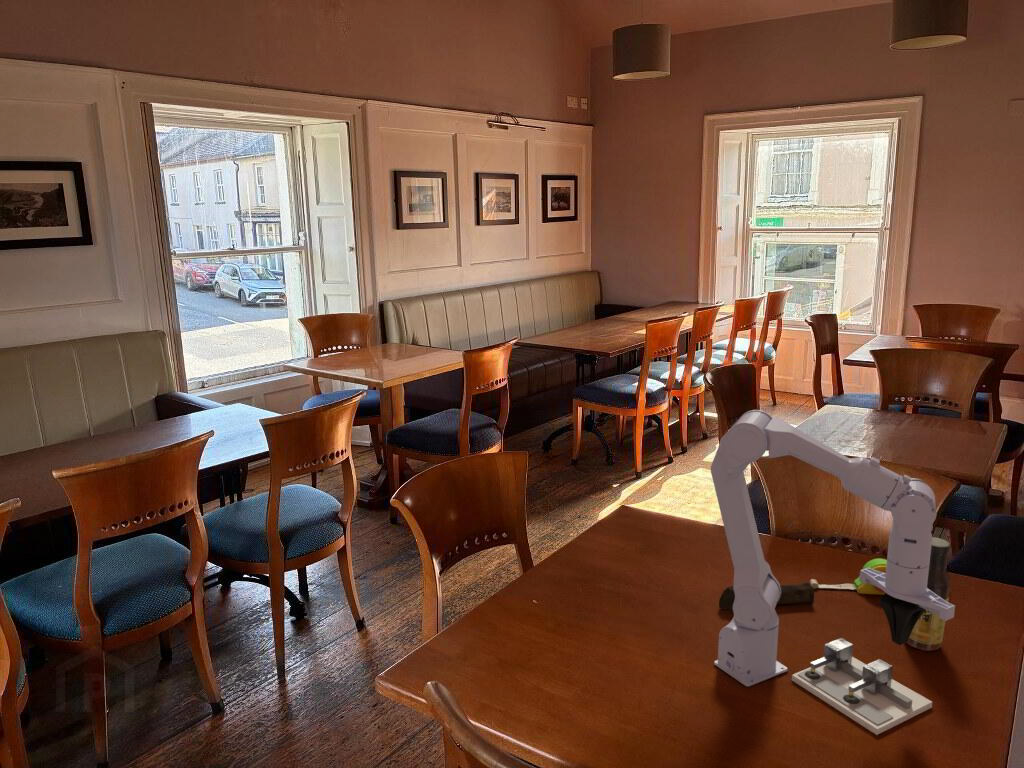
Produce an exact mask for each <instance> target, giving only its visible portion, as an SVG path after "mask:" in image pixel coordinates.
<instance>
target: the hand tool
mask: <svg viewBox="0 0 1024 768" xmlns="http://www.w3.org/2000/svg"><path fill="white" fill-rule="evenodd" d="M780 587H781V596H780V598H779V600H778V602H777V604H776V605H787V604H801V603H808V604H809V605H813V604H814V603H815V589H814V588H813V587H812V586H811V584H810V582H805V581H804V582H802V583H800V584H786V585H785V584H784V585H783V584H780ZM734 600H735V593H734V588H733V585H731V586H727V587H726V588H725V589H723V591H722V593H721V595H720V597H719V600H718V607H719V608H720V609H723V610H730V611H731V610H732V611H733V603H734Z"/></svg>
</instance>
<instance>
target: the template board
mask: <svg viewBox="0 0 1024 768" xmlns="http://www.w3.org/2000/svg"><path fill="white" fill-rule="evenodd" d="M864 665H867V664H866V663H864V662H863V661H861V660H859V659H857V658H856V657H854V656H852V664H849V663H847V662H845V661H842V662H840V667H839V670H837V671H834V670H832V669H830V668H829V667H827V666H825V665H823V666H821V667H818V668H816V669H815V674H811V673H810V671H811V667H810V666H809V667H808V668H805V669H803V670H800V671H798V672H795V673H794V674H792V675H791V681H792V682H794V683H795V684H796V685H799V686H800V687H802V688H803V689H805V690H806V691H807V692H809V693H811V694H813V695H814V696H816V697H817V698H819V699H820V700H822V701H823V702H825V703H826V704H828V705H829V706H831V707H833V708H834V709H835V710H837V711H839V712H840V713H842V714H843V715H845V716H846V717H848V718H850V719H851V720H853V721H854V722H856V723H857V724H859V725H861V726H862V727H864V728H865V729H867V730H868V731H869V732H871V733H872V734H875V735H876V736H878V735H879V734H881V733H884V732H886V731H888V730H890V729H892V728H894V727H896V726H898V725H900V724H902V723H904V722H905V721H908V720H910V719H912V718H914V717H915V716H918V715H919V714H922V713H924V712H926V711H928V710H930V709H932V707H933V701H932V700H930V699H928V698H926V697H925V696H923V695H922V694H920V693H917V692H916V691H914V690H912V689H910V688H909V687H907V686H905V685H903V684H901V683H900V682H898V681H896V680H894V679H893V678H892V680H891V687H889V686H887V685H885V684H884V683H883V684H881V685H879V693H877V694H875V695H874V694H872V693H871V692H869V691H867V690H866V689H864V688H862V689H860V690H858V691H856V692H854V695H853V698H849V690H848V688H849V685H851V684H853V683H856V682H858V681H860V680H862V672H863V666H864Z"/></svg>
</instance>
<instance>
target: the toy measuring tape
mask: <svg viewBox="0 0 1024 768" xmlns="http://www.w3.org/2000/svg"><path fill="white" fill-rule="evenodd" d="M886 566H887V559H885V558H874V559H871V560H869V561H867V562H866V563H864V565H863V567H862V569H861V570H863V569H866V568H871V569H873V570H876V571H879V572H883V573H886ZM859 580H860V575H859V576H858V577H857V578H855V580H854V581H853V583H843V584H842V583H841V584H819V583H818V581H817V579H815V578H812V579H811V578H810V580H809V583H810V585H811V586H812V587H813V589H814V590H816V589H835V590H852V591H854V590H855V591H857V592H856V593H857V594H861V595H862V594H864V595H866V594H867V595H880V596H881V595H883V596H884V594H885V592H884V591H883V590H882V589H880V588H878V587H876V586H874V585H872V584H869V583H862V582H860V581H859Z"/></svg>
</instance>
